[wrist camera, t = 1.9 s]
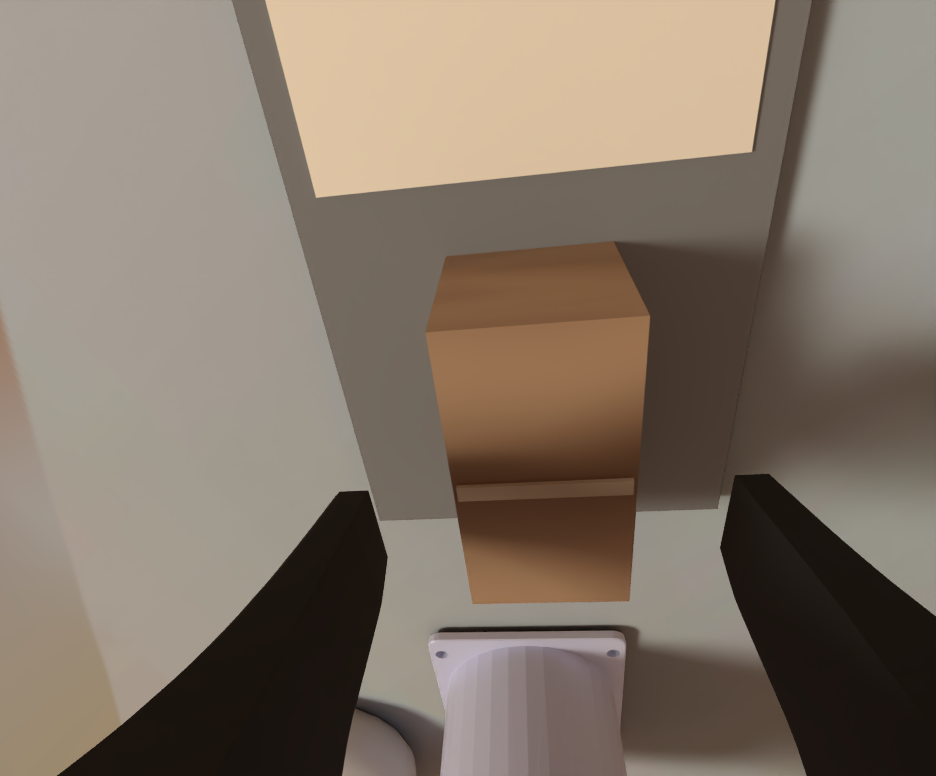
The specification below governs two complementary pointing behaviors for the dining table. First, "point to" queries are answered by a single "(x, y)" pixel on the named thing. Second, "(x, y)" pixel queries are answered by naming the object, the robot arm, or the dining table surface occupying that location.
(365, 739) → the donut
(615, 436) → the brown rectangular block
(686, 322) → the mat
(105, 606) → the dining table surface
